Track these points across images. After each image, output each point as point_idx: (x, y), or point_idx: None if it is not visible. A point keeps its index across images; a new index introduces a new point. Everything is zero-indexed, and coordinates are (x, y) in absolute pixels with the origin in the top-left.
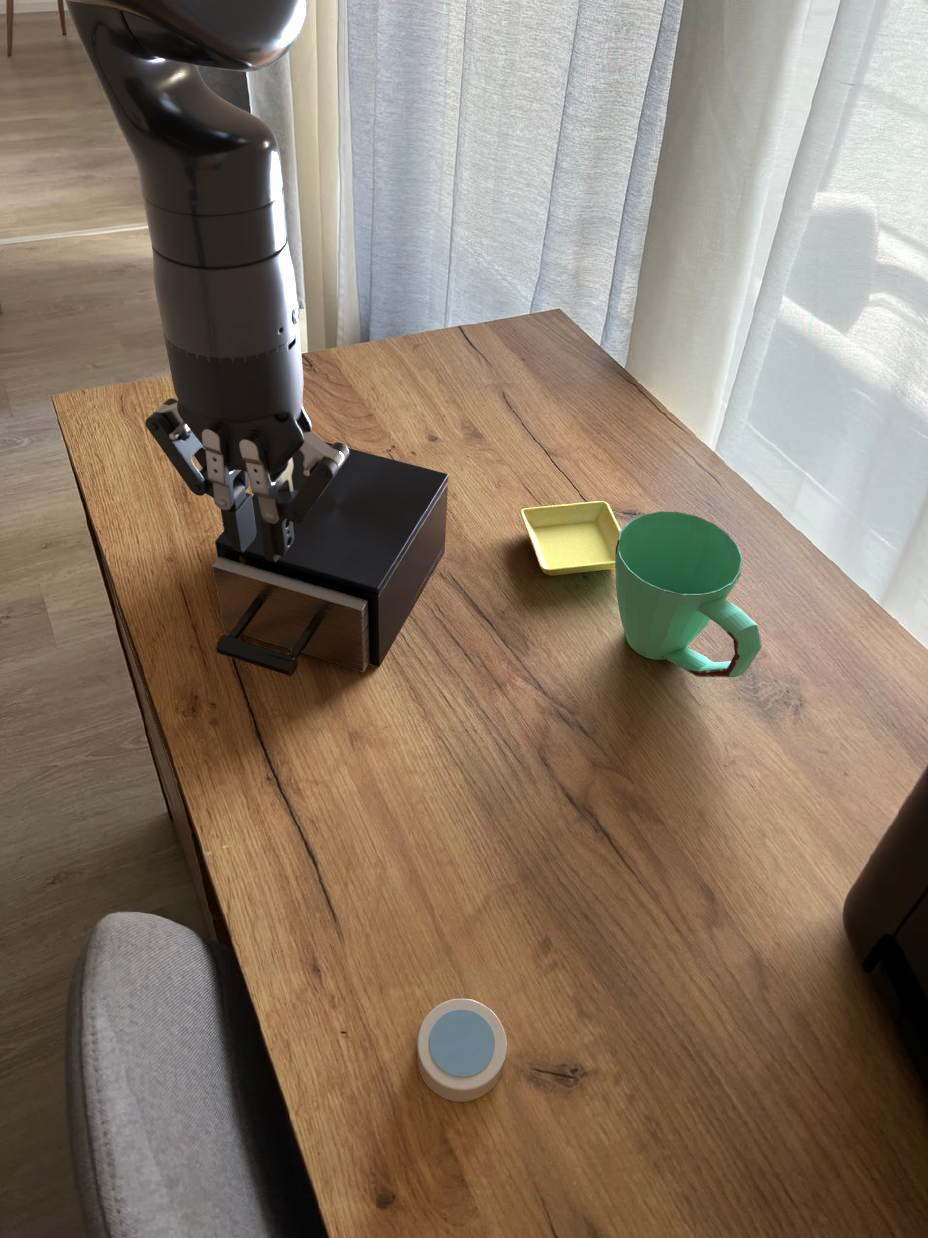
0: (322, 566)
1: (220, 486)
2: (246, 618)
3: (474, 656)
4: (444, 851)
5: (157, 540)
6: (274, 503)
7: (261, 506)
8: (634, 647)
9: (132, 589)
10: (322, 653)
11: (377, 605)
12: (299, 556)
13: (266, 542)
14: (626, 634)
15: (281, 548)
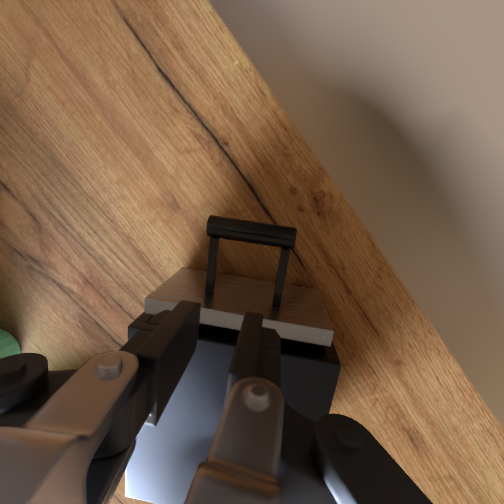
0: (199, 347)
1: (248, 457)
2: (278, 277)
3: (114, 305)
4: (70, 112)
5: (419, 382)
6: (44, 405)
7: (113, 392)
8: (4, 334)
9: (422, 322)
10: (218, 275)
11: (143, 313)
12: (231, 358)
13: (176, 321)
14: (5, 343)
15: (158, 319)
